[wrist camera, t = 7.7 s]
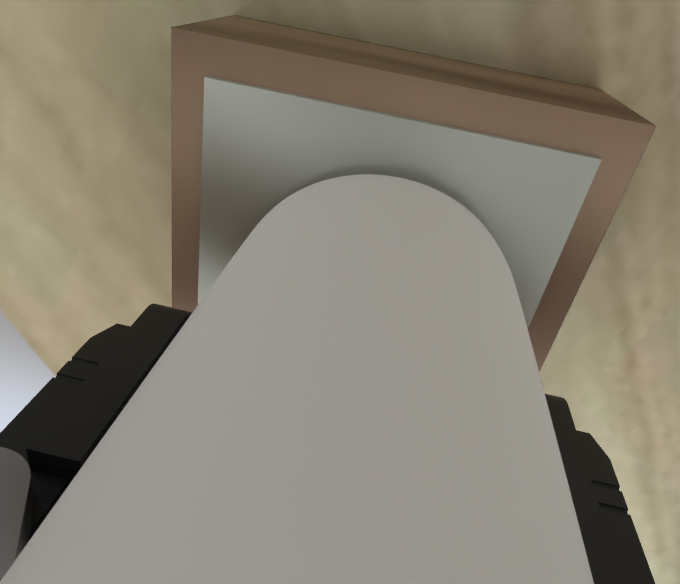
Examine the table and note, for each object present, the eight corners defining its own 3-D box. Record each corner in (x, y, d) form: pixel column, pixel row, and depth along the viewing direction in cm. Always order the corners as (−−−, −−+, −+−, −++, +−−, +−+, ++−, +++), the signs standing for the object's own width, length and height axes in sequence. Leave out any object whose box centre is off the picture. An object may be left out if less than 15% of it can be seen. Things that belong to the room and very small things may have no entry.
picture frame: (233, 15, 14) (167, 28, 11) (601, 89, 14) (659, 128, 10) (217, 315, 20) (169, 391, 16) (484, 376, 19) (496, 467, 16)
